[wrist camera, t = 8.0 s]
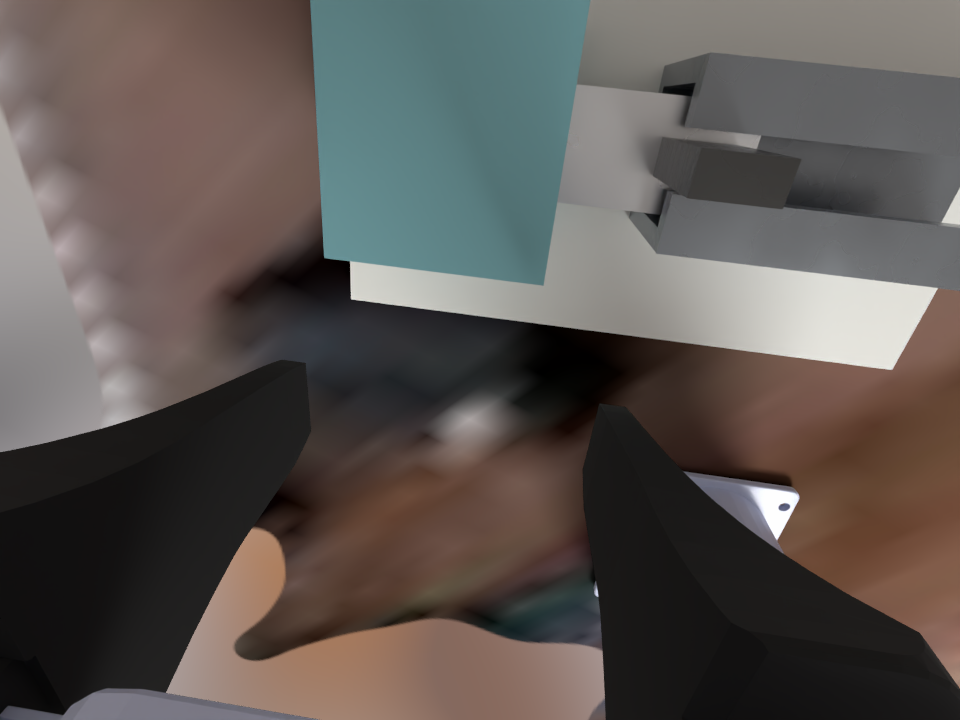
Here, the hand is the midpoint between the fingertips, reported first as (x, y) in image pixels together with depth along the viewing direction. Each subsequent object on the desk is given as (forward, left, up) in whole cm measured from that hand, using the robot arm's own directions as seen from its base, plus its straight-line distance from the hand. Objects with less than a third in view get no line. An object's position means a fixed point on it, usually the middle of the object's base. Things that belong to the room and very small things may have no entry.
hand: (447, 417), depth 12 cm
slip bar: (+6, -2, -8) cm, 10 cm away
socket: (+6, +1, -9) cm, 11 cm away
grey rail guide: (+6, -10, -9) cm, 15 cm away
